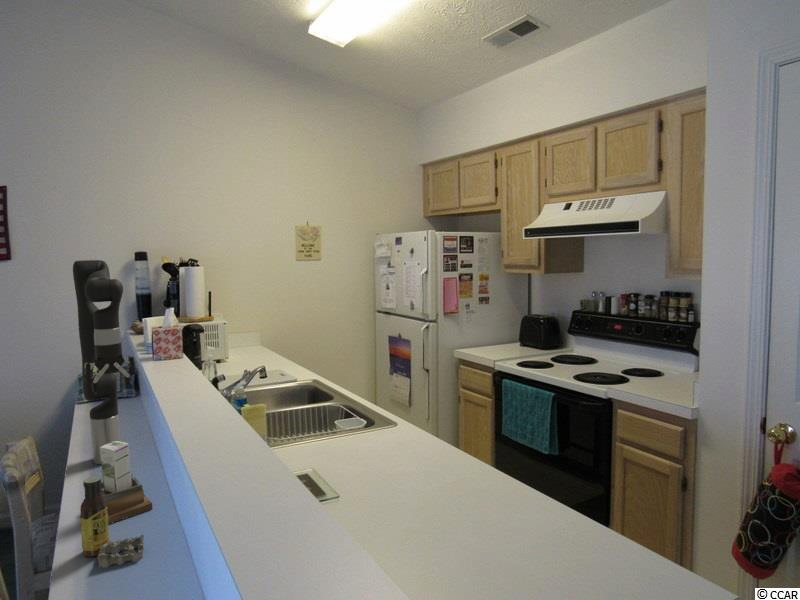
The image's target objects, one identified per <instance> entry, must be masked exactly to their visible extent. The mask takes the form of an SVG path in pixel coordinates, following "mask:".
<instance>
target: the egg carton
mask: <svg viewBox="0 0 800 600" xmlns="http://www.w3.org/2000/svg"><path fill="white" fill-rule="evenodd" d="M144 541H145V536H144V534H141V535H139V536H136V537H131V538H128V537H127V538H125V539H120V540H113V541H110V540H109V542H107V543H105V544H104V545H102V547H101V548H100V551H99V554H98V555H97V556H96V557H97V561H98V568H102V569H107V568H109V567H110V566H111V565H116V564H117V565H118V566H120V565H121V566H122V565H124V564H125V563H126V562H129V561H131V562H133V563H134V562H138V561H139V560H140V559H143V558H144V551H145V544H144ZM136 548H137V553H135V549H136ZM121 550H122V551H123V555H122V556H121V555H120V553H121V552H122V551H121ZM120 551H121V552H120ZM119 552H120V553H119ZM107 553H108V554H107ZM116 553H118V554H116ZM113 554H115V555H113Z"/></svg>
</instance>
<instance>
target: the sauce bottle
mask: <svg viewBox="0 0 800 600" xmlns="http://www.w3.org/2000/svg"><path fill="white" fill-rule="evenodd" d="M101 483H102V478H101V477H100V476H91V477H88V478H86V479H84V480H83V488H84V499H83V500H82V502H81V505H80V509H79V510H80V529H81V530H80V533H81V549H82V554H83V556H85V557H90V558H91V557H95V556H96V557H97V556H98V554H99V551H100V548H101V547H102V545H104V544H105V543H107V542H109V541H110V533H109V532H110V531H109V530H110V528H109V524H108V509H107V505H106V503H105V501H104V498H103V496H102V494H101V493H102V492H101Z"/></svg>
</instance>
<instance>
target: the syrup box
mask: <svg viewBox="0 0 800 600" xmlns="http://www.w3.org/2000/svg"><path fill="white" fill-rule="evenodd" d="M100 453H101V464H100V466H101V473H102V482H103V487H104V492H109V493H114V492H118V491H121V490H124V489H127V488H130V487H132V481H131V474H132V473H131V459H130V448H129V442H124V441H120V442H119V441H113V442H110V443H108V444H105V445H104V446H102V447H100Z"/></svg>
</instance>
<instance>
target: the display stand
mask: <svg viewBox="0 0 800 600" xmlns="http://www.w3.org/2000/svg"><path fill="white" fill-rule="evenodd" d="M131 481H132V487H130V488H127V489H124V490H121V491H118V492H114V493H109V492H104V487H103V481H101V492H102V493H101V494H102V496H103V498H104V501H105V503H106V505H107V509H108V525H111V524H113V523H112V522H114V523H116V522H115V521H117V522H119V521H118V520H120V521H122V520H121V519H123V518H126V517H129V516H132V515H134V516H137V515H139V513H140V514H143V513H147V512H149V511H151V510H153V502H152V501H151V500H150V499H149V498H148V497H147V496H146V495H145V493H144V489H143V484H142V483H141V482H140V481H139V480H138V479H137V478H136V477H135V476H134V475H133V474H132V473H131ZM142 512H143V513H142ZM136 514H137V515H136ZM132 517H133V516H132ZM129 518H130V517H129ZM126 519H127V518H126ZM123 520H124V519H123ZM110 523H111V524H110Z"/></svg>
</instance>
